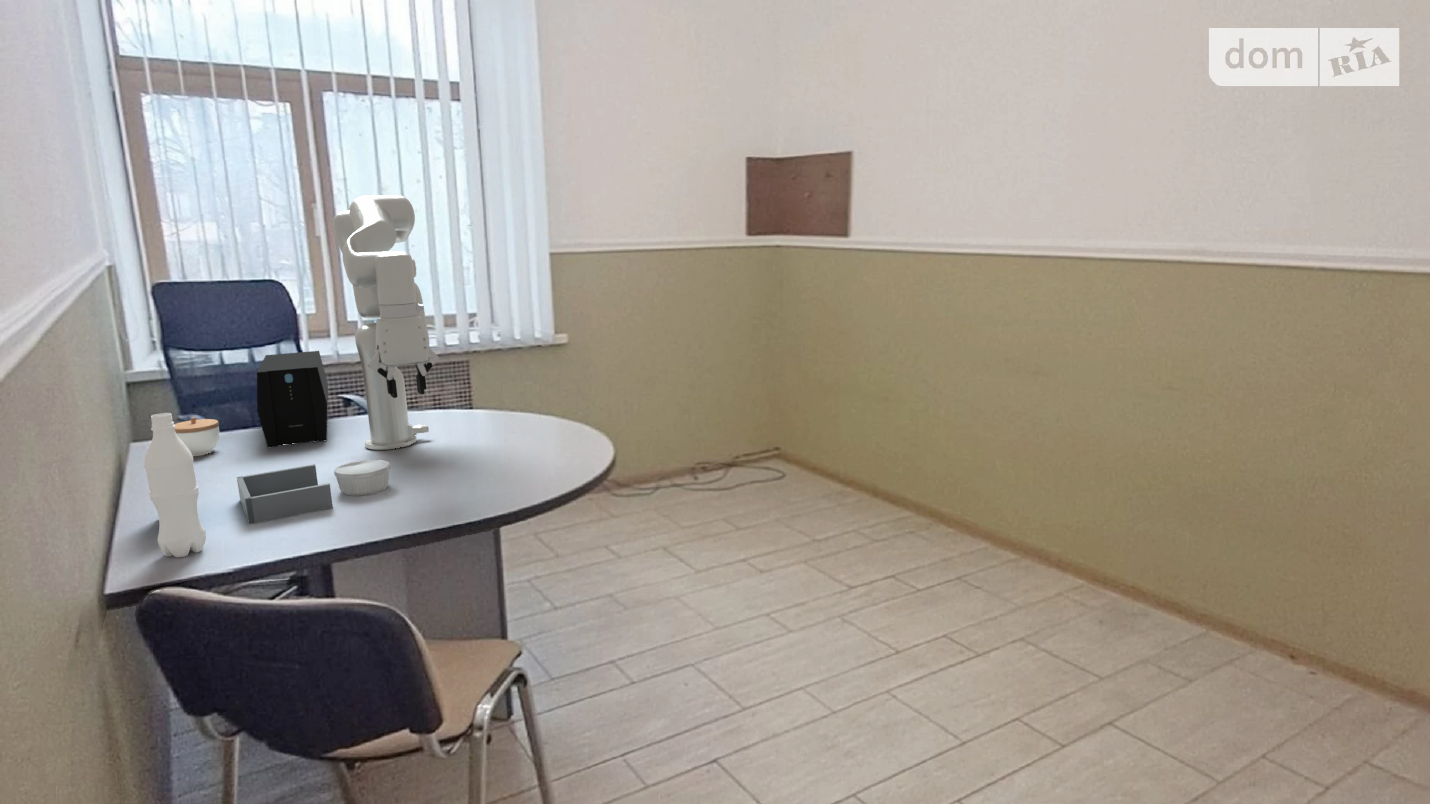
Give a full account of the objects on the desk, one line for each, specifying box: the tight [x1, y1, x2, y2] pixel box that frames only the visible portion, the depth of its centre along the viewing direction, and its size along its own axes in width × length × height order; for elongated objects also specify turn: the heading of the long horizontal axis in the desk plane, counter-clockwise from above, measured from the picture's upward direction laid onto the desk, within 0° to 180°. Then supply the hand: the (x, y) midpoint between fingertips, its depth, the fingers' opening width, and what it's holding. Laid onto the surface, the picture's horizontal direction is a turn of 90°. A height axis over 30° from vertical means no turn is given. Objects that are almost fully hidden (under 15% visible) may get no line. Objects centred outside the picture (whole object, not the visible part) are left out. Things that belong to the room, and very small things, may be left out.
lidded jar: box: [174, 416, 220, 457], centre depth 214 cm, size 11×11×9 cm
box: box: [236, 464, 334, 525], centre depth 173 cm, size 15×18×5 cm
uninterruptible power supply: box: [256, 350, 329, 448], centre depth 235 cm, size 16×34×20 cm, turn 24°
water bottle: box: [143, 412, 207, 558], centre depth 146 cm, size 7×7×25 cm
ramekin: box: [333, 459, 391, 497], centre depth 182 cm, size 11×11×5 cm
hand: (407, 394), depth 184 cm, fingers open, 5 cm apart
